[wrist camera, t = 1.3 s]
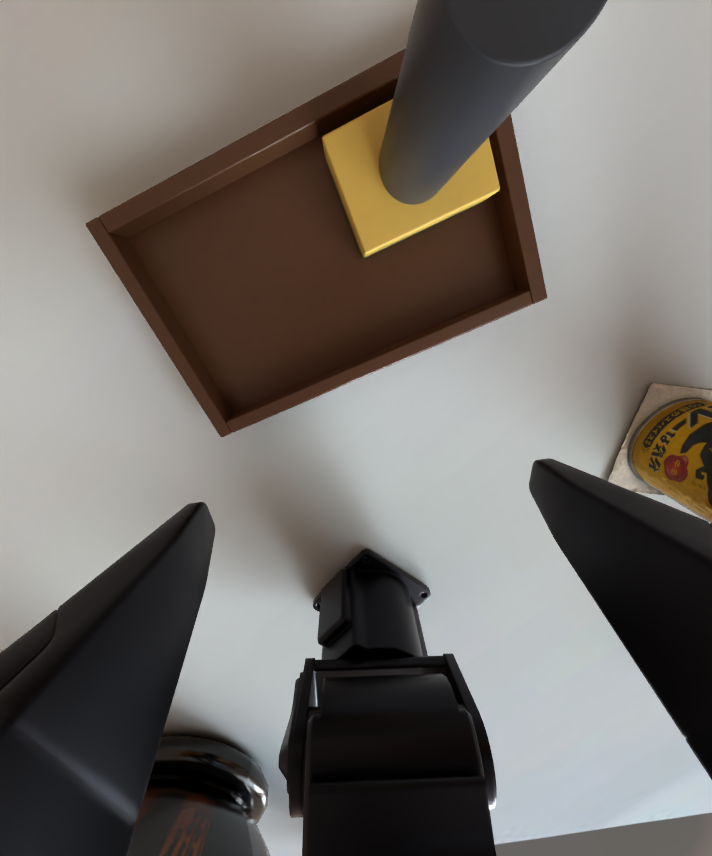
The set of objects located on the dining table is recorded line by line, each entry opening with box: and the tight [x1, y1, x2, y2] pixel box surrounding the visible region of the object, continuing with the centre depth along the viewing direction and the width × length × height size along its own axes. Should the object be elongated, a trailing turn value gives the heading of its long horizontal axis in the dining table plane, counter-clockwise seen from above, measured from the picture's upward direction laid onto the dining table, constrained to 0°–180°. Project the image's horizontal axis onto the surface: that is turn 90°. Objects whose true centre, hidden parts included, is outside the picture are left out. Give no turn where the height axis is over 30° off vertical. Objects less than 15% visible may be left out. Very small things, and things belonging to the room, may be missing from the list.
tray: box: [86, 49, 547, 437], centre depth 16 cm, size 18×11×2 cm, turn 113°
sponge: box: [322, 0, 607, 259], centre depth 10 cm, size 6×4×12 cm
